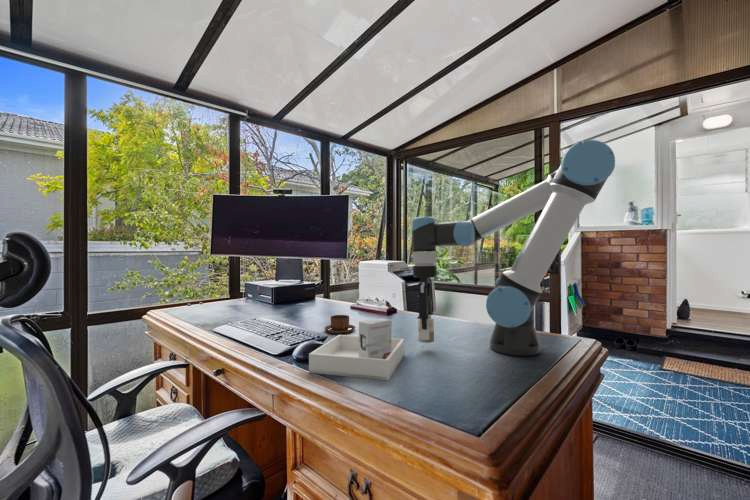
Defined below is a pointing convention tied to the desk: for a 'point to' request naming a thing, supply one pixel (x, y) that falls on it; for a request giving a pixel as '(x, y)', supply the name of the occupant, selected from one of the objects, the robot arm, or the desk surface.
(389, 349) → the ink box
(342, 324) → the cup and saucer
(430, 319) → the birch cylinder
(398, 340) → the tray
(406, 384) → the desk surface
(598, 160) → the robot arm
